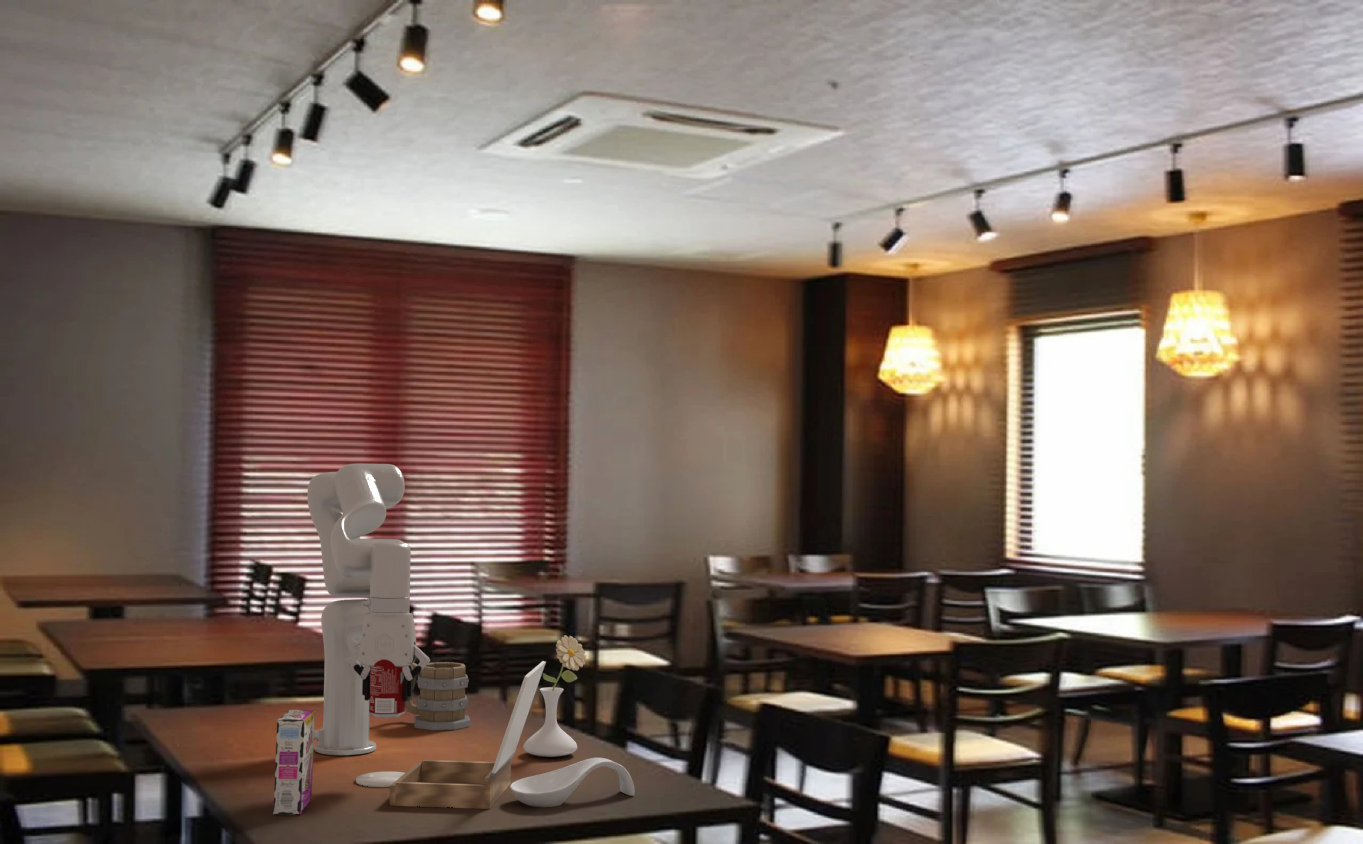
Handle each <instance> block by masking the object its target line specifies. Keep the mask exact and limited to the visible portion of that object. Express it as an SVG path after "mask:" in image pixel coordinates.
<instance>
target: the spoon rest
mask: <svg viewBox="0 0 1363 844" xmlns="http://www.w3.org/2000/svg"><path fill="white" fill-rule="evenodd" d="M601 767H606V768H609V769H612V770H614V771H615V772H616V773H617V775H618V778H619V779H618V780H619V790H620V792H622V793H623V794H626V796H627V795H628V796H630V797H631V796H632V797H633V796H635V792H636V791H635V785H634V784H635V783H634V781H633V779H632V777H631V774H630V773H629V771H628V770H627V769H626V768H625V766H623V765H621V764H620V763H618V762H616V761H615V762H614V761H613V760H610V759H609V758H605V757H604V758H603V757H591V758H587V759H584V760H581V761H578V762H574V763H572V764H570V765H568V766H563V767H560V768H558V769H554V770H551V771H548V772H544V773H541V774H540V773H539V774H536V775H532V776H528V777H527V776H526V777H523V778H520V779H518V780H515V781H513V782H511V784H510V785H509V790H510V792H511V793H512V795H513V796H514V798H516V799H517V800H518V801H519V802H521V803H522V804H523V805H526V806H529V807H535V808H553V807H557V806H562V804H563V803H564V802H565V801H566V800H567V799H568V798H569V797H570V796H571V795H572V794H573V793H574V791H575V790H576V789H577V787H578V786H579V785H580V784H581V783H582V782H583V781H584V779H585V778H586V777H588V775H589V774H590V773H591V772H593V771H594V770H596V769H598V768H601Z"/></svg>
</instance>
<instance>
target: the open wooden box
mask: <svg viewBox="0 0 1363 844" xmlns="http://www.w3.org/2000/svg"><path fill="white" fill-rule="evenodd" d="M494 764H495V761H474V760H473V761H472V760H471V761H467V760H439V759H438V760H436V759H433V760H432V759H422V761H420V762H419V761H418V762H417V763H415V764H414V765H413V766H412V767H411V768H409V769H408V770H407V771H405V772H404V773H405V774H404V775H402V776H401V777H400V778H399V779H397V780H396V781H395V782H394V783H393V784H391V785H390V787H389V806H390V805H391V806H392V807H395V806H396V807H417V806H418V808H419V806H420V807H421V808H422V807H425V808H447V807H450V808H451V807H453V809H455V808H456V809H478V810H479V809H480V810H482V809H485V810H491V808H492V807H493V806H494V805H495V803H496V802H497V801H498V800H499V798H500V797H501V796H502V795H503V793H504V792H505V791H506V790H507V789H508V787H510V785H511V784H512V782H511V780H512V779H511V778H512V777H511V776H512V758H511V759H510V760H509V761H508V762H507V763H506V765H505V766H504V767H503V768H502V769H501V770H500V771H499V772H498V773H497V775H496V776H495V777H494V778H491V777H490V774H491V773H492V770H493V767H494ZM451 809H452V808H451Z"/></svg>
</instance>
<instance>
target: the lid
mask: <svg viewBox="0 0 1363 844" xmlns="http://www.w3.org/2000/svg"><path fill="white" fill-rule="evenodd" d="M546 663H547V661H544V660H542V661H541V662H540V663H538V665H536V666H535V667H534V668H532V670H530V671H529V672H528V673H527V674H526V675H524V678H523V681H522V683H521V687H520V689H519V693H518V695H517V697H516V700H515V704H514V707H513V710H512V712H511V716H510V718H509V721H508V724H507V727H506V729H505V733H504V736H503V739H502V742H501V745H500V746H499V750H498V752H497V756H496V759H495V761H494V762H495V764H494V767H493V770H492V773H491V774H490V777H491V778H494V777H495V776H496V775H497V773H498V772H499V771H500V770H501V769H502V768H503V767H504V766H505V765H506V763H507V762H508V761H509V760H510V759H511V760H512V758H513V757H514V756H515V752H516V750H517V747H518V744H519V742H520V738H521V736H522V733H523V729H524V727H525V724H526V721H527V718H528V715H529V712H530V710H531V707H532V704H533V700H534V697H535V695H536V692H537V690H538V687H539V683H540V680H541V677H542V676H543V673H544V672H543V671H544V669H545V666H546Z"/></svg>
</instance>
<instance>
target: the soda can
mask: <svg viewBox="0 0 1363 844" xmlns="http://www.w3.org/2000/svg"><path fill="white" fill-rule="evenodd" d="M383 656H386V655H383ZM404 680H405V675H404V673H403V670H402V667H396V666H394V664H393V663H392V662H391V661H389V660H386V659H383V660H379V661H378V662H376V663H375V664H374V666H370V697H369V713H370V715H372V716H373V717H375V718H378V719H394V718H395V719H396V718H400V717H401V715H404V714H405V713H406V708H405V701H403V681H404Z"/></svg>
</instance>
